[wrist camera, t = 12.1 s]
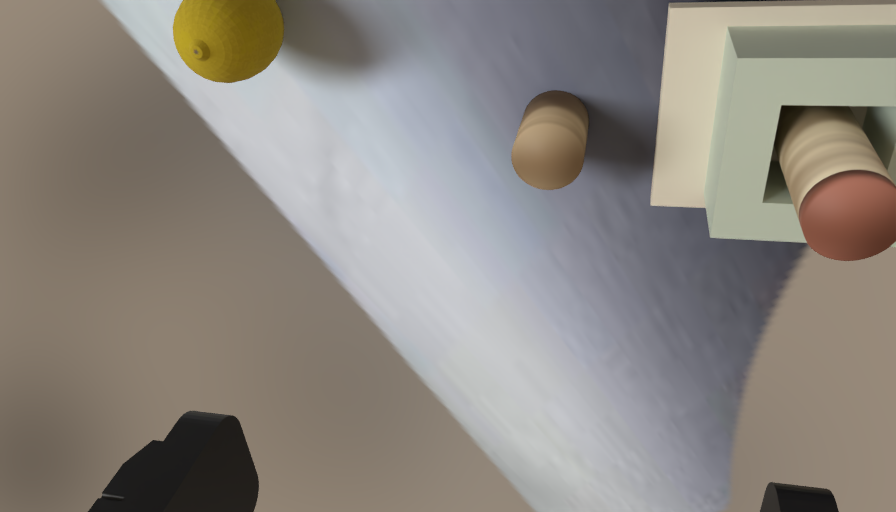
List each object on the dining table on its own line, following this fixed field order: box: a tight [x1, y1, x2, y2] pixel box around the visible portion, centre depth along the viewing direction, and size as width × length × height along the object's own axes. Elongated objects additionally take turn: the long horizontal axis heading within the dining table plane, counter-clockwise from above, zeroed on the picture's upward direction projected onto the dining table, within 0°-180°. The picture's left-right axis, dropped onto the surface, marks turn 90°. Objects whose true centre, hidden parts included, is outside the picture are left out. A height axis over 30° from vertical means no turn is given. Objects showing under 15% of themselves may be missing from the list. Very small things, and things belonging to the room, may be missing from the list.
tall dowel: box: [774, 105, 896, 261], centre depth 35 cm, size 4×4×11 cm
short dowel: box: [512, 90, 589, 190], centre depth 42 cm, size 4×4×5 cm
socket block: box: [651, 0, 896, 247], centre depth 38 cm, size 12×16×6 cm
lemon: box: [173, 0, 284, 83], centre depth 41 cm, size 6×6×8 cm
